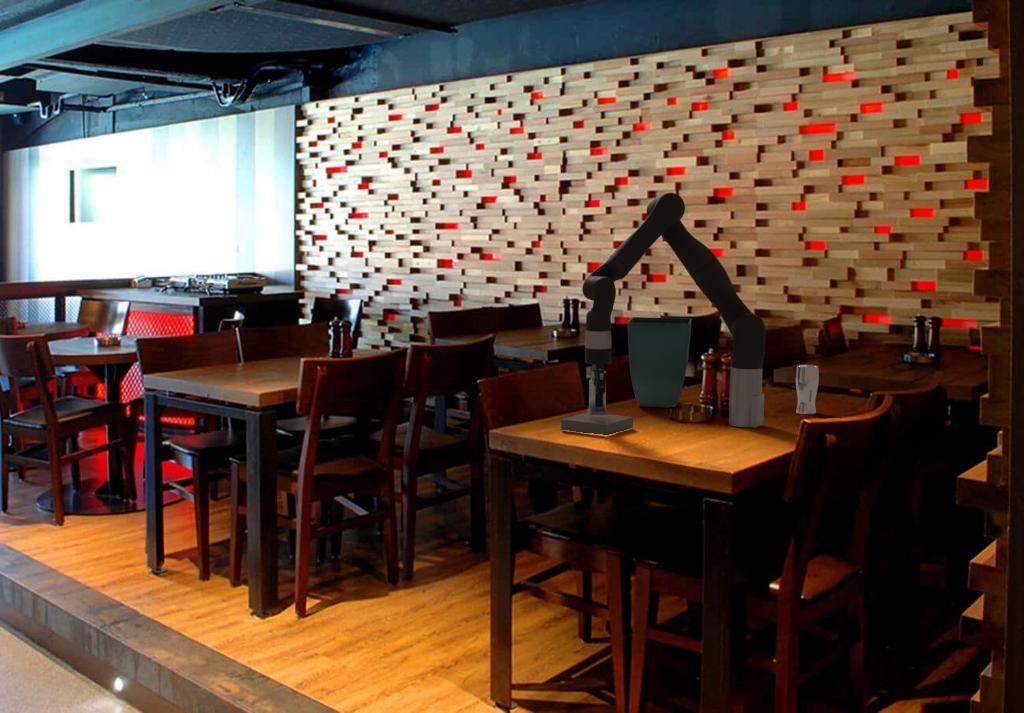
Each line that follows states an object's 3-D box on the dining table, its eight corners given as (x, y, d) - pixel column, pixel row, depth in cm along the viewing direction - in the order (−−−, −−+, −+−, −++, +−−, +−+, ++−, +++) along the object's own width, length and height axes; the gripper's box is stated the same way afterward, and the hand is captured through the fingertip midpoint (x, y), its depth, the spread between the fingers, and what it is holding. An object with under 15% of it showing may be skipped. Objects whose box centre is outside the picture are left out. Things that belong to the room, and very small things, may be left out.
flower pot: (688, 410, 327) (690, 322, 324) (625, 408, 331) (627, 321, 328) (689, 401, 347) (691, 318, 343) (631, 399, 351) (632, 317, 347)
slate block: (632, 430, 296) (633, 417, 295) (606, 439, 284) (606, 424, 283) (588, 425, 304) (588, 412, 304) (561, 433, 292) (561, 419, 292)
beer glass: (815, 411, 327) (816, 364, 325) (819, 414, 320) (821, 367, 319) (792, 410, 328) (794, 364, 326) (796, 414, 321) (798, 367, 319)
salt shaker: (607, 414, 291) (607, 376, 290) (590, 415, 291) (590, 376, 289) (604, 411, 296) (604, 374, 295) (587, 412, 296) (587, 374, 294)
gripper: (615, 349, 284) (614, 409, 286) (607, 343, 298) (606, 401, 300) (588, 349, 284) (588, 409, 286) (581, 343, 298) (581, 401, 300)
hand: (597, 405), depth 293 cm, fingers closed on salt shaker, 4 cm apart
